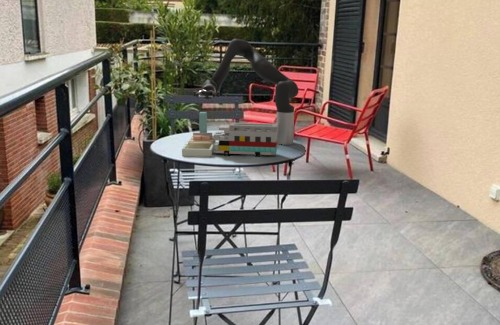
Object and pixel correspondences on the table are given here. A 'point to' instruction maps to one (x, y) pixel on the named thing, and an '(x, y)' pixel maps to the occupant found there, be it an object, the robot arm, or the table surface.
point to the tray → (197, 151)
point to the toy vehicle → (247, 139)
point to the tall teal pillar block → (202, 125)
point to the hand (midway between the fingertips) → (205, 95)
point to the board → (200, 143)
